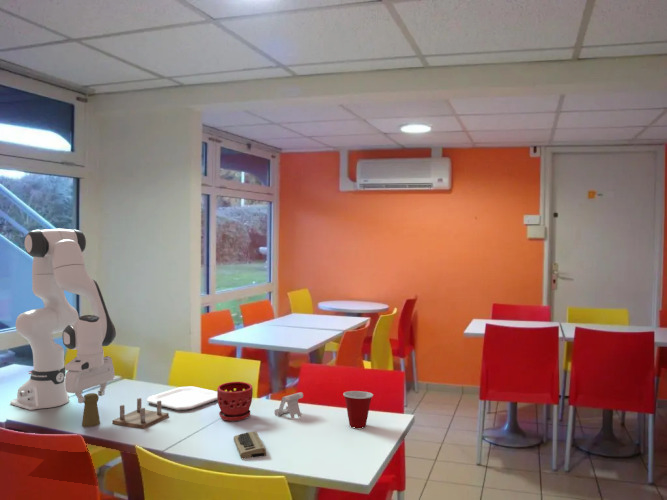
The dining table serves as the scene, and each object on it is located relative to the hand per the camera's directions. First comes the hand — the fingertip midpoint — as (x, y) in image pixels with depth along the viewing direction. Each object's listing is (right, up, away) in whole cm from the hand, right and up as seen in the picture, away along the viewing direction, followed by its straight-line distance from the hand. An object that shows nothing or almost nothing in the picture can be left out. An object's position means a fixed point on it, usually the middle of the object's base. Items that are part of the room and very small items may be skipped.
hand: (91, 398), depth 203 cm
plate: (+26, -9, +29) cm, 40 cm away
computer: (+60, -11, -21) cm, 65 cm away
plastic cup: (+96, -10, 0) cm, 97 cm away
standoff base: (+16, -9, +5) cm, 19 cm away
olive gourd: (-1, -10, +1) cm, 10 cm away
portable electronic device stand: (+71, -10, +11) cm, 72 cm away
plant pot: (+50, -9, +8) cm, 52 cm away
